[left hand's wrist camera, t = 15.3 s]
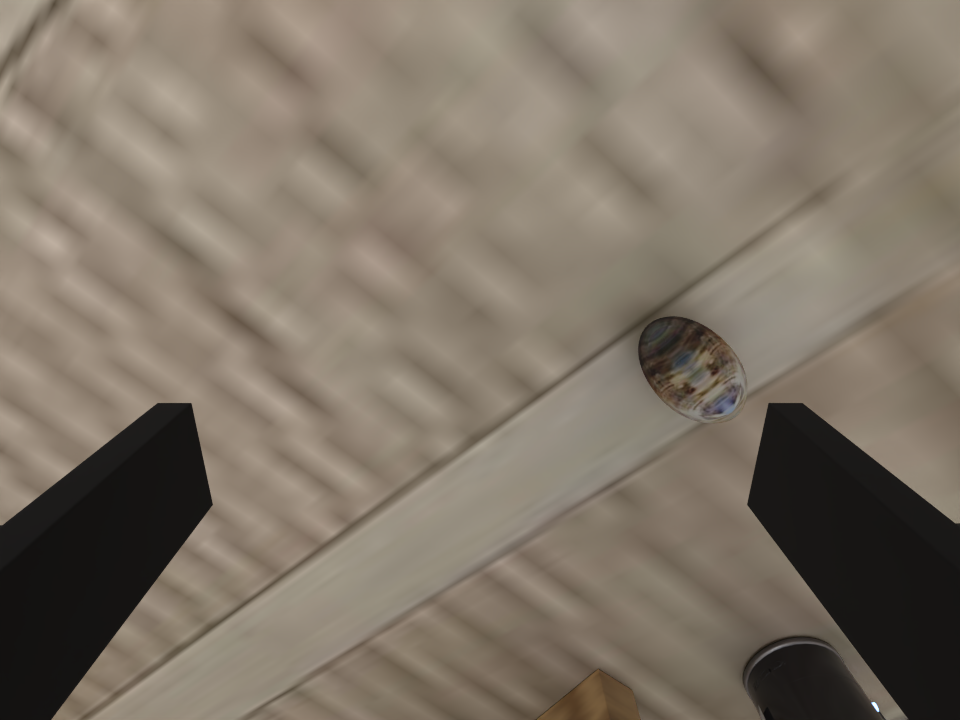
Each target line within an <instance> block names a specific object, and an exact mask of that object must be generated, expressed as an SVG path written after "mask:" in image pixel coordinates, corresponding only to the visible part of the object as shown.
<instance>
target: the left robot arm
mask: <svg viewBox="0 0 960 720" xmlns="http://www.w3.org/2000/svg"><path fill="white" fill-rule="evenodd" d="M212 505H213V503H212V499H211V494H210V489H209V484H208V480H207V475H206V470H205V465H204V461H203V456H202V451H201V446H200V442H199V437H198V432H197V428H196V423H195V418H194V413H193V409H192V404H191V403H157V404H156V405H155V406H153V407H152V408H151V409H150V410H148V411H147V412H146V413H145V414H143V415H142V416H141V417H139V418H138V419H137V420H136V421H134V422H133V423H132V424H131V425H129V426H128V427H127V428H126V429H124V430H123V431H122V432H120V433H119V434H118V435H117V436H115V437H114V438H113V439H112V440H110V441H109V442H108V443H106V444H105V445H104V446H103V447H101V448H100V449H99V450H98V451H96V452H95V453H94V454H92V455H91V456H90V457H89V458H87V459H86V460H85V461H84V462H82V463H81V464H80V465H79V466H77V467H76V468H75V469H73V470H72V471H71V472H70V473H68V474H67V475H66V476H65V477H63V478H62V479H61V480H59V481H58V482H57V483H56V484H54V485H53V486H52V487H51V488H49V489H48V490H47V491H45V492H44V493H43V494H42V495H40V496H39V497H38V498H37V499H35V500H34V501H33V502H32V503H30V504H29V505H28V506H26V507H25V508H24V509H23V510H21V511H20V512H19V513H18V514H16V515H15V516H14V517H12V518H11V519H10V520H9V521H7V522H6V523H5V524H4V525H0V720H51V719H52V718H53V716H54V715H55V714H56V712H57V711H58V710H59V708H60V707H61V706H62V704H63V703H64V702H65V700H66V699H67V698H68V697H69V695H70V694H71V693H72V691H73V690H74V689H75V687H76V686H77V685H78V683H79V682H80V681H81V679H82V678H83V677H84V675H85V674H86V673H87V671H88V670H89V669H90V667H91V666H92V665H93V663H94V662H95V661H96V659H97V658H98V657H99V655H100V654H101V653H102V651H103V650H104V649H105V647H106V646H107V645H108V643H109V642H110V641H111V639H112V638H113V637H114V635H115V634H116V633H117V631H118V630H119V629H120V627H121V626H122V625H123V623H124V622H125V621H126V619H127V618H128V617H129V615H130V614H131V613H132V611H133V610H134V609H135V607H136V606H137V605H138V603H139V602H140V601H141V599H142V598H143V597H144V595H145V594H146V593H147V591H148V590H149V589H150V587H151V586H152V585H153V584H154V582H155V581H156V580H157V578H158V577H159V576H160V574H161V573H162V572H163V570H164V569H165V568H166V566H167V565H168V564H169V562H170V561H171V560H172V558H173V557H174V556H175V554H176V553H177V552H178V550H179V549H180V548H181V546H182V545H183V544H184V542H185V541H186V540H187V538H188V537H189V536H190V534H191V533H192V532H193V530H194V529H195V528H196V526H197V525H198V524H199V522H200V521H201V520H202V518H203V517H204V516H205V514H206V513H207V512H208V510H209V509H210V508H211V506H212ZM747 505H748V506H749V508H750V509H751V510H752V512H753V513H754V514H755V516H756V517H757V518H758V520H759V521H760V522H761V524H762V525H763V526H764V528H765V529H766V530H767V532H768V533H769V534H770V536H771V537H772V538H773V540H774V541H775V542H776V544H777V545H778V546H779V548H780V549H781V550H782V552H783V553H784V554H785V556H786V557H787V558H788V560H789V561H790V562H791V564H792V565H793V566H794V568H795V569H796V570H797V572H798V573H799V574H800V576H801V577H802V578H803V580H804V581H805V582H806V584H807V585H808V586H809V587H810V589H811V590H812V591H813V593H814V594H815V595H816V597H817V598H818V599H819V601H820V602H821V603H822V605H823V606H824V607H825V609H826V610H827V611H828V613H829V614H830V615H831V617H832V618H833V619H834V621H835V622H836V623H837V625H838V626H839V627H840V629H841V630H842V631H843V633H844V634H845V635H846V637H847V638H848V639H849V641H850V642H851V643H852V645H853V646H854V647H855V649H856V650H857V651H858V653H859V654H860V655H861V657H862V658H863V659H864V661H865V662H866V663H867V665H868V666H869V667H870V669H871V670H872V671H873V673H874V674H875V675H876V677H877V678H878V679H879V681H880V682H881V683H882V685H883V686H884V687H885V689H886V690H887V691H888V693H889V694H890V695H891V697H892V698H893V699H894V700H895V702H896V703H897V704H898V706H899V707H900V708H901V710H902V711H903V712H904V714H905V715H906V716H907V718H908V719H909V720H960V524H955V523H954V522H953V521H951V520H950V519H949V518H948V517H946V516H945V515H944V514H942V513H941V512H940V511H939V510H937V509H936V508H935V507H934V506H932V505H931V504H930V503H928V502H927V501H926V500H925V499H923V498H922V497H921V496H920V495H918V494H917V493H916V492H915V491H913V490H912V489H911V488H909V487H908V486H907V485H906V484H904V483H903V482H902V481H901V480H899V479H898V478H897V477H895V476H894V475H893V474H892V473H890V472H889V471H888V470H887V469H885V468H884V467H883V466H881V465H880V464H879V463H878V462H876V461H875V460H874V459H873V458H871V457H870V456H869V455H868V454H866V453H865V452H864V451H862V450H861V449H860V448H859V447H857V446H856V445H855V444H854V443H852V442H851V441H850V440H848V439H847V438H846V437H845V436H843V435H842V434H841V433H840V432H838V431H837V430H836V429H834V428H833V427H832V426H831V425H829V424H828V423H827V422H826V421H824V420H823V419H822V418H821V417H819V416H818V415H817V414H815V413H814V412H813V411H812V410H810V409H809V408H808V407H807V406H805V405H804V404H803V403H769V404H768V409H767V413H766V418H765V423H764V427H763V432H762V437H761V442H760V446H759V451H758V456H757V461H756V465H755V470H754V475H753V480H752V484H751V489H750V494H749V499H748V503H747Z"/></svg>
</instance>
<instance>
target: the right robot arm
mask: <svg viewBox="0 0 960 720" xmlns="http://www.w3.org/2000/svg"><path fill="white" fill-rule="evenodd" d="M743 683H744V687H745V689H746V691H747V693H748V695H749V697H750V699H751V700H752V701H753V703H754V705H755V707H756V709H757V711H758V713H759V715H760V717H761V720H885V718H884V717H883V715H882V714H881V712H880V711H879V710H878V707H877V705H876V704H875V703H871V701H870V700H869V698H868V697H867V696H866V694H865V693H864V691H863V690H862V688H861V687H860V685H859V684H858V683H857V681H856V680H855V678H854V677H853V676H852V674H851V673H850V671H849V670H848V669H847V667H846V666H845V664H844V662H843V660H842V658H841V657H840V655H839V654H838V652H837V651H836V650H835V649H834V648H833V647H832V646H831V645H829V644H828V643H826V642H824V641H821V640H818V639H814V638H806V637H798V638H790V639H785V640H782V641H778V642H776V643H773V644H771V645H769V646H767V647H765V648H764V649H762V650H761V651H760V652H758V653H757V654H756V655H755V656H754V657H753V658H752V659H751V660H750V662H749V663H748V665H747V667H746V669H745V671H744V676H743Z"/></svg>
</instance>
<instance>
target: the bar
mask: <svg viewBox="0 0 960 720" xmlns="http://www.w3.org/2000/svg"><path fill="white" fill-rule="evenodd" d="M537 720H641V719H640V716H639V712H638V709H637V705H636V702H635V698H634V695H633V691H632V690H631V689H629V688H628V687H626V686H624V685H623V684H621V683H620V682H618V681H617V680H615V679H613V678H612V677H610V676H609V675H607V674H605V673H604V672H602V671H601V670H599V669H597V670H596V671H595V672H594V673H593V674H591V675H590V676H589V677H588V678H586V679H585V680H584V681H583V682H582V683H580V684H579V685H578V686H577V687H576V688H574V689H573V690H572V691H571V692H569V693H568V694H567V695H566V696H565V697H563V698H562V699H561V700H560V701H558V702H557V703H556V704H555V705H554V706H552V707H551V708H550V709H549V710H548V711H546V712H545V713H544V714H543V715H541V716H540V717H539V718H538V719H537Z"/></svg>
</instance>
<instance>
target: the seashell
mask: <svg viewBox="0 0 960 720" xmlns="http://www.w3.org/2000/svg"><path fill="white" fill-rule="evenodd" d="M638 354H639V360H640V364H641V368H642V370H643V373H644V375H645V377H646V379H647V381H648V382H649V384H650V386H651V387H652V388H653V390H654V391H655V393H656V394H657V395H658V396H659V397H660V398H661V399H662V400H663V401H664V402H665V403H666V404H667V405H668V406H669V407H670V408H672V409H673V410H674V411H676V412H677V413H679V414H681V415H683V416H685V417H687V418H689V419H692V420H695V421H699V422H704V423H722V422H726V421H729V420H731V419H733V418H734V417H736V416H737V415H738V414H739V413H740V412H741V410H742V408H743V407H744V404H745V401H746V397H747V380H746V375H745V371H744V369H743V366H742V364H741V362H740V360H739V359H738V357H737V355H736V354H735V353H734V351H733V350H732V349H731V347H730V346H729V345H728V344H727V343H726V342H725V341H724V340H723V339H722V338H721V337H720V336H718V335H717V334H716V333H714V332H713V331H712V330H710V329H709V328H707V327H705V326H704V325H702V324H700V323H698V322H695V321H693V320H690V319H687V318H682V317H664V318H660V319H657V320H655V321H653V322H651V323H650V324H649V325H648V326H647V327H646V328H645V329H644V331H643V333H642V335H641V337H640V340H639V346H638Z"/></svg>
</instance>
